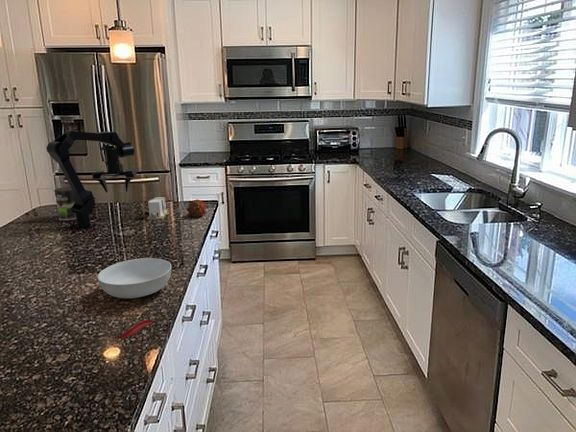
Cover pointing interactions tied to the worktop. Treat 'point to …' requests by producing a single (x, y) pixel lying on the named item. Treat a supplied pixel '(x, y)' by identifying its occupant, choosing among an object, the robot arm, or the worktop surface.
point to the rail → (155, 215)
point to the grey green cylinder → (65, 203)
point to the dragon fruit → (197, 208)
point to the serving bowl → (135, 277)
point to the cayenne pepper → (136, 328)
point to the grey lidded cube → (155, 207)
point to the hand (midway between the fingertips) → (117, 192)
